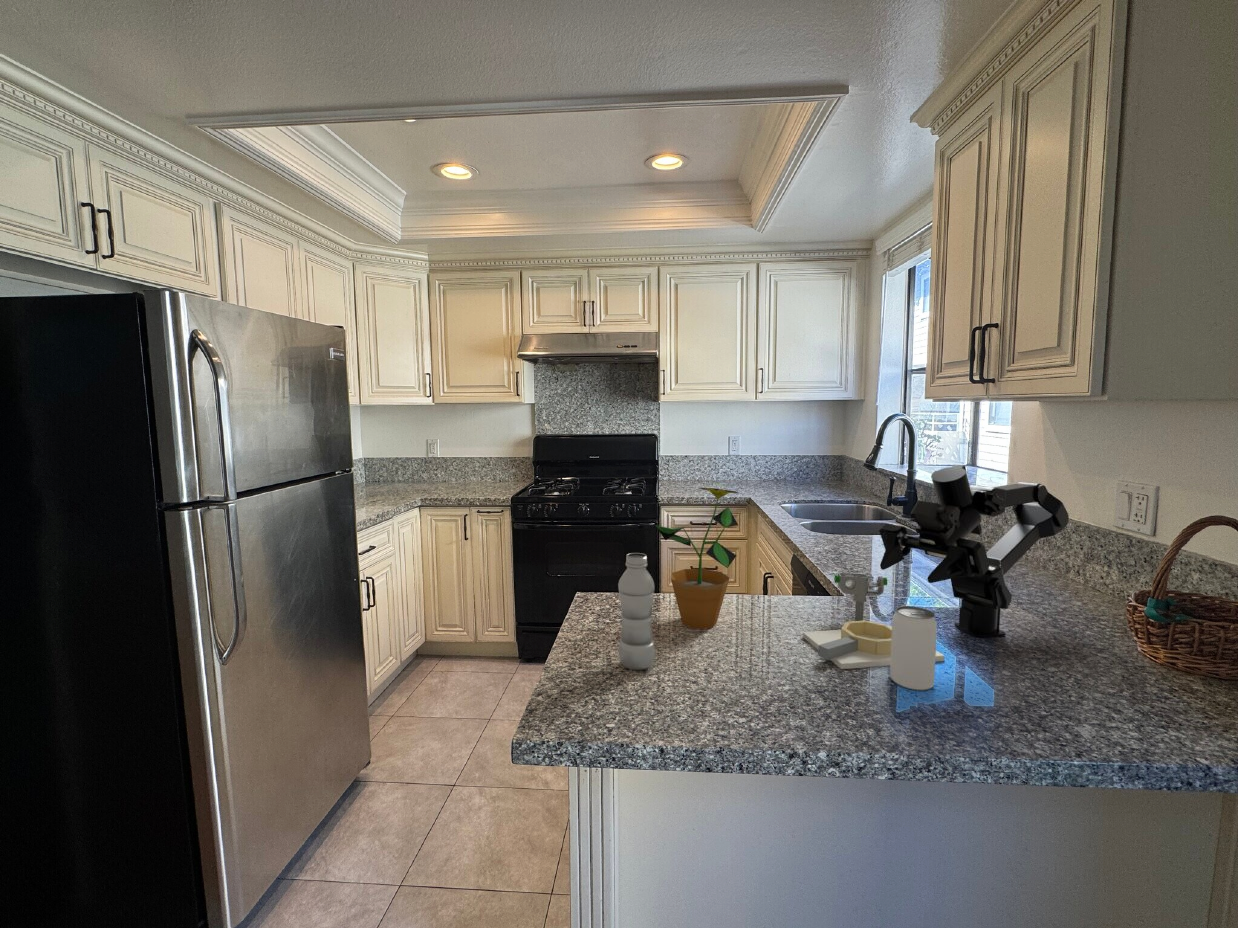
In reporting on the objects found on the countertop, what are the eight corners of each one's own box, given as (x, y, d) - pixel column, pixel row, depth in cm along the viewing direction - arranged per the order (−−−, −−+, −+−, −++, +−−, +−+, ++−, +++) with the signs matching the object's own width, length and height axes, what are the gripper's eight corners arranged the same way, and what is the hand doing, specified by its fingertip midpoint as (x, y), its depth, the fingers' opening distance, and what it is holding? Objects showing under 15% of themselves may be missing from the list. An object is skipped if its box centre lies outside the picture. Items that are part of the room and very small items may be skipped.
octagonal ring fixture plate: (906, 629, 112) (907, 613, 112) (958, 659, 99) (959, 640, 98) (791, 637, 109) (791, 620, 108) (828, 670, 95) (829, 650, 95)
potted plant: (761, 630, 113) (764, 485, 110) (681, 645, 105) (682, 491, 103) (714, 602, 129) (715, 476, 126) (642, 614, 122) (642, 480, 119)
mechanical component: (886, 625, 115) (888, 578, 114) (835, 621, 117) (836, 576, 116) (882, 619, 118) (884, 574, 117) (832, 616, 120) (834, 572, 119)
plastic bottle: (630, 678, 92) (629, 562, 91) (612, 662, 98) (611, 553, 97) (662, 669, 95) (662, 557, 94) (643, 654, 101) (642, 549, 100)
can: (881, 673, 94) (884, 605, 93) (917, 671, 94) (921, 604, 93) (904, 692, 87) (907, 619, 86) (943, 690, 88) (946, 618, 87)
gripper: (896, 485, 110) (847, 527, 104) (995, 497, 94) (945, 548, 88) (910, 531, 113) (864, 574, 108) (1008, 550, 97) (960, 602, 91)
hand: (904, 573), depth 99 cm, fingers open, 9 cm apart
